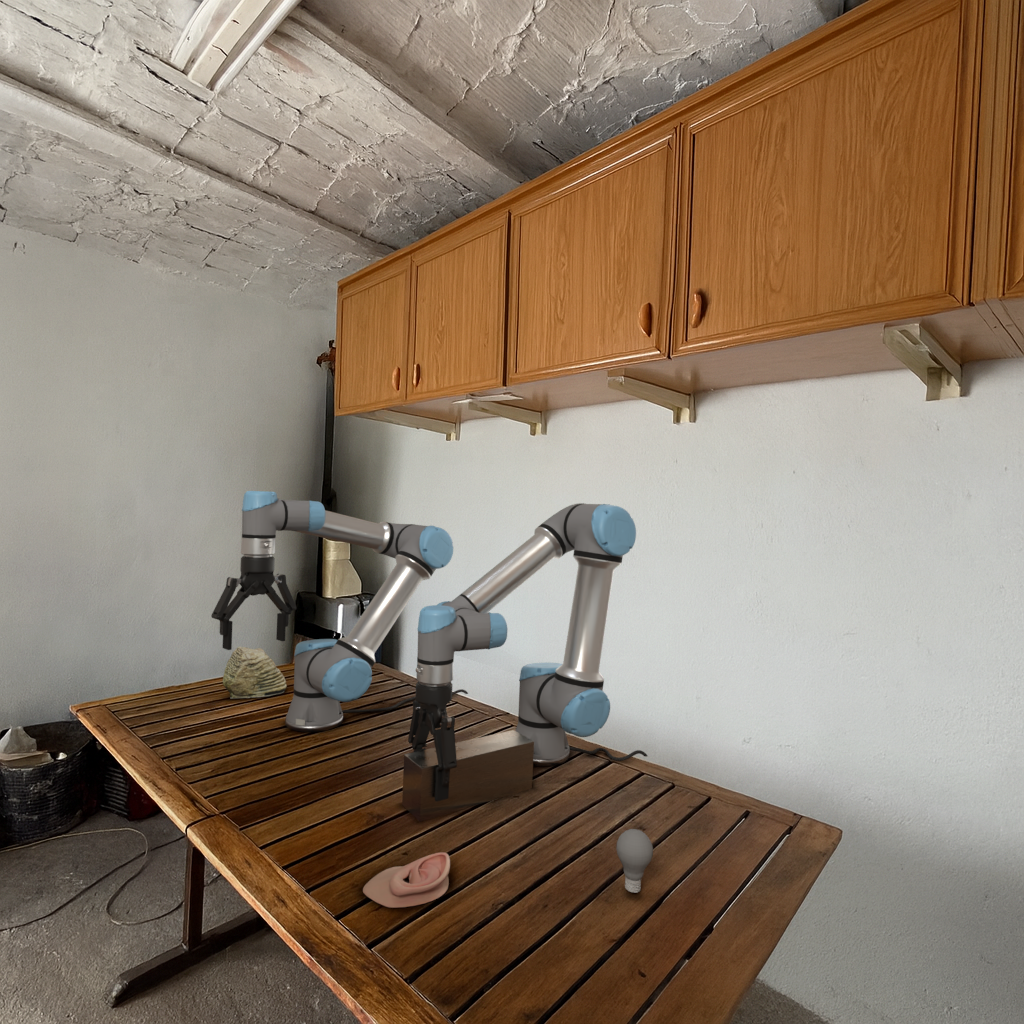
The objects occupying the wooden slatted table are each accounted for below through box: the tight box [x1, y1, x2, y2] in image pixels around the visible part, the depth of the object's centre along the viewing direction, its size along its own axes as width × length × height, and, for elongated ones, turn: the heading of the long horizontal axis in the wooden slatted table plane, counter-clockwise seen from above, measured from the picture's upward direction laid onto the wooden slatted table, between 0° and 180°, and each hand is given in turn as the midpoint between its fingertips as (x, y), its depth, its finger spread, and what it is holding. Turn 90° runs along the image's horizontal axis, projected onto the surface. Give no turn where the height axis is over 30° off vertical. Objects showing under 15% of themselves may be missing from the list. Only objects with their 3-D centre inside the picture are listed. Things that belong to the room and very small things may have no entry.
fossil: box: [222, 646, 288, 699], centre depth 198 cm, size 9×18×15 cm, turn 132°
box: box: [401, 729, 534, 823], centre depth 137 cm, size 28×8×11 cm, turn 126°
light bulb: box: [615, 828, 654, 894], centre depth 106 cm, size 6×6×10 cm
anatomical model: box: [362, 851, 451, 909], centre depth 104 cm, size 13×4×12 cm
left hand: (254, 644), depth 151 cm, fingers open, 13 cm apart
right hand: (429, 789), depth 131 cm, fingers open, 9 cm apart
